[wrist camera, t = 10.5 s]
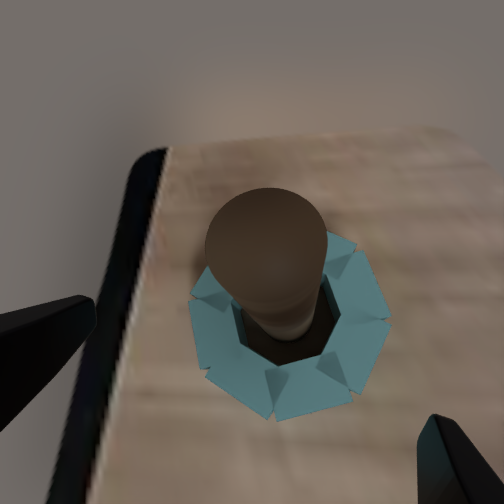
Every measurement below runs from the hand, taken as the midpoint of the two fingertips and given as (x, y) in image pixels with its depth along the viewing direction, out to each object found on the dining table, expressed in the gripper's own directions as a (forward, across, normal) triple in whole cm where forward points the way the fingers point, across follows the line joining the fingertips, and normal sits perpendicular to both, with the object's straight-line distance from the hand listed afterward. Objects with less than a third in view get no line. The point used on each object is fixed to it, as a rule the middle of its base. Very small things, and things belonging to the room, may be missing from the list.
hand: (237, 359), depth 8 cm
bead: (+10, 0, +6) cm, 12 cm away
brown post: (+10, 0, +6) cm, 12 cm away
